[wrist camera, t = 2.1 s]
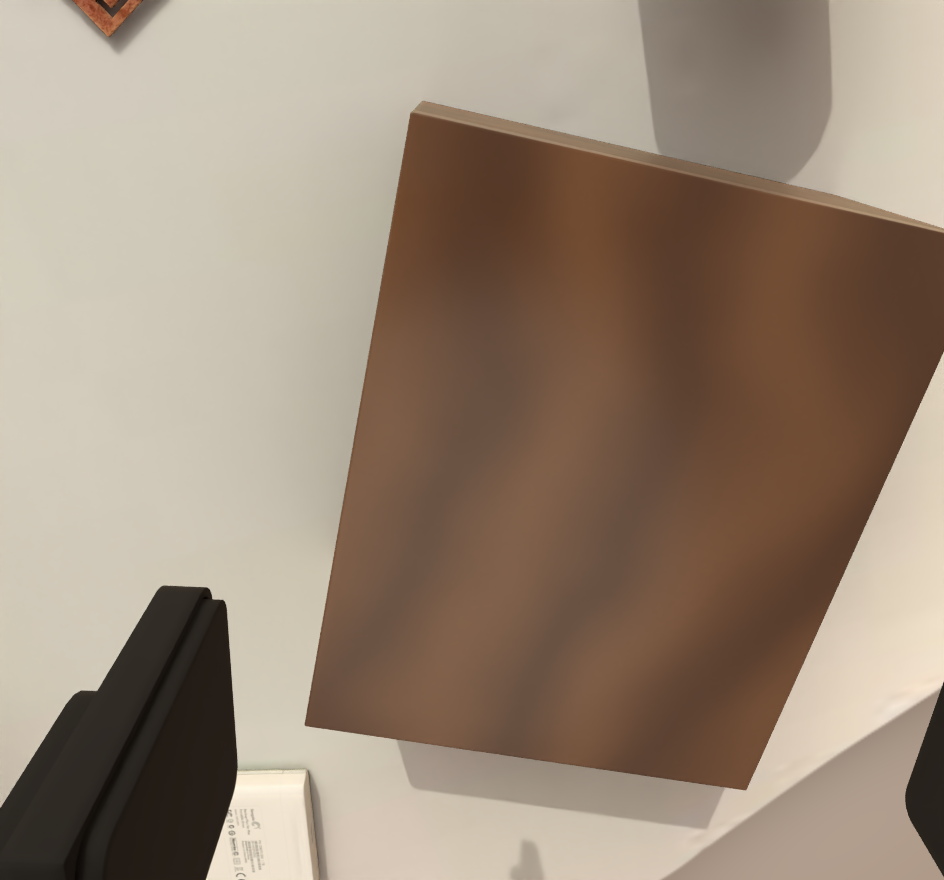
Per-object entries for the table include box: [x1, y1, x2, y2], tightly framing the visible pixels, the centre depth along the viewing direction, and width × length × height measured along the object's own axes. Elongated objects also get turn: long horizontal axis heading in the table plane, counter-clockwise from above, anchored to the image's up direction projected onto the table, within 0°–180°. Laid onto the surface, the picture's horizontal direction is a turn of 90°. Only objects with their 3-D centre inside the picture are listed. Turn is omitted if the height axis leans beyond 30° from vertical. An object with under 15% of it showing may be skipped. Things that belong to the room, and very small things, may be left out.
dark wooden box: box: [305, 101, 944, 790], centre depth 30 cm, size 16×20×10 cm
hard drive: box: [206, 769, 319, 880], centre depth 43 cm, size 2×8×12 cm
